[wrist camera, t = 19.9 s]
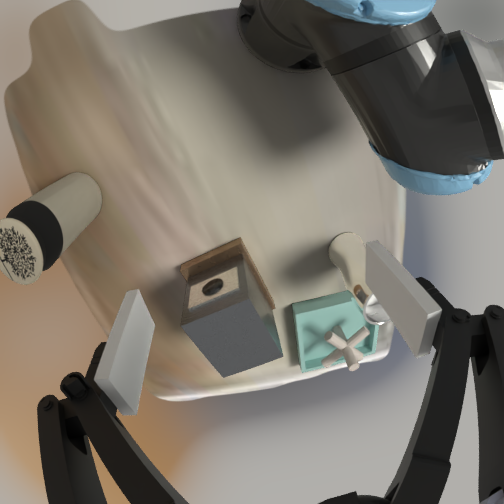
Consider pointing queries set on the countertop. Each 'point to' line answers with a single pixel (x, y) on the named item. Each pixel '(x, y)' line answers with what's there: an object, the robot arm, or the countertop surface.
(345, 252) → the beer glass
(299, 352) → the tray
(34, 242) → the travel mug
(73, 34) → the countertop surface
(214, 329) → the mounted unit
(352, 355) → the pipe connector
